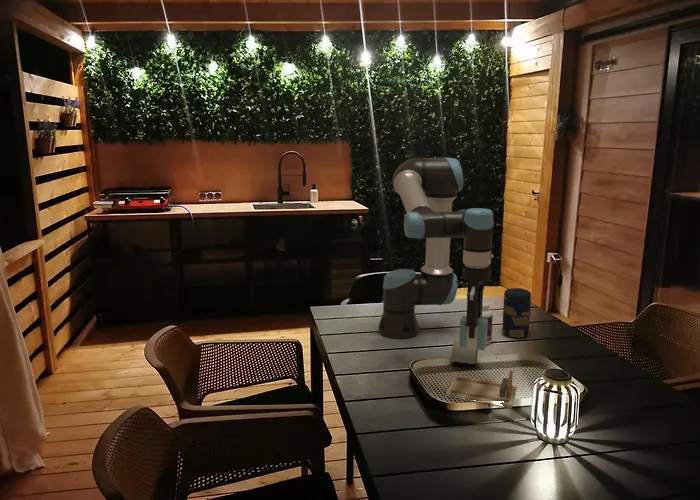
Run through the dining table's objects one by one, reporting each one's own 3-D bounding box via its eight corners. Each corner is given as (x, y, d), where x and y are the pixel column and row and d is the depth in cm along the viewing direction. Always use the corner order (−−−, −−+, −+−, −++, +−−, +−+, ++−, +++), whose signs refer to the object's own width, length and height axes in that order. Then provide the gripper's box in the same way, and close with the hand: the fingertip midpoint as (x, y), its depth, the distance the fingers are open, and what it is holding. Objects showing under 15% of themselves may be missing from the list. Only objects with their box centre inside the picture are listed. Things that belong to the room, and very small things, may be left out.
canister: (531, 339, 200) (535, 291, 196) (505, 339, 200) (508, 291, 196) (524, 330, 209) (527, 284, 205) (499, 330, 209) (501, 284, 206)
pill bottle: (489, 338, 201) (491, 300, 198) (492, 346, 194) (495, 307, 191) (467, 337, 202) (468, 299, 199) (469, 345, 194) (471, 306, 191)
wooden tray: (446, 396, 157) (446, 373, 155) (454, 379, 168) (455, 358, 166) (511, 408, 150) (513, 384, 149) (516, 389, 161) (517, 367, 160)
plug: (459, 347, 157) (460, 320, 155) (461, 342, 160) (463, 315, 159) (484, 350, 154) (485, 323, 152) (486, 345, 158) (487, 318, 156)
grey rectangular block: (477, 368, 176) (478, 345, 174) (450, 366, 177) (451, 343, 176) (477, 356, 186) (478, 334, 184) (453, 354, 188) (454, 332, 186)
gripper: (485, 273, 143) (481, 358, 148) (495, 259, 159) (491, 336, 163) (456, 270, 146) (453, 354, 151) (468, 257, 161) (465, 333, 166)
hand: (473, 345), depth 157 cm, fingers closed on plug, 4 cm apart
